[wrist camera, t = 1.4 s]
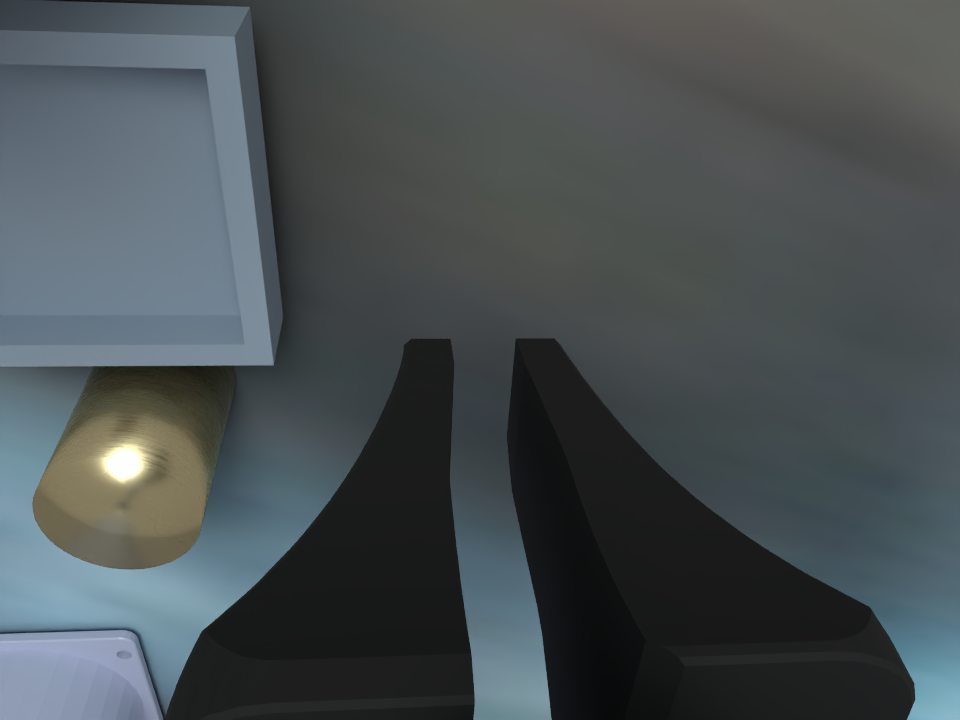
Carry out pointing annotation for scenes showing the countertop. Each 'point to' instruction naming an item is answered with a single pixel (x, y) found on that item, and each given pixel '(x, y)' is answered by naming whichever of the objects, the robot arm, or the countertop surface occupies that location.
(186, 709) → the robot arm
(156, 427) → the brass cylinder
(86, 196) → the grey square tray
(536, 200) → the countertop surface
